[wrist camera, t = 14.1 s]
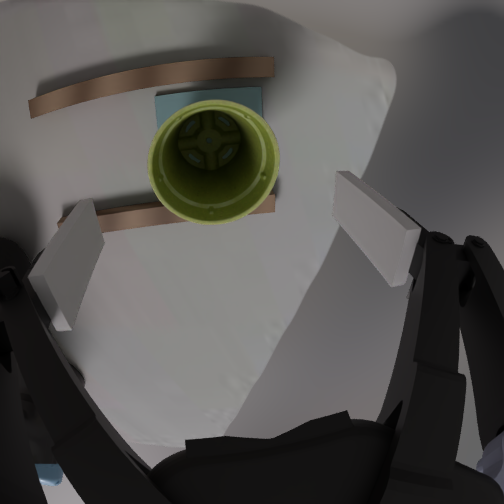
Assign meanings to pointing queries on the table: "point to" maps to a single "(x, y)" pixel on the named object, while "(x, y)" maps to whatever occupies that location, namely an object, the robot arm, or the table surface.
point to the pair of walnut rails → (144, 79)
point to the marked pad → (176, 101)
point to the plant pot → (213, 162)
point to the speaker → (13, 257)
